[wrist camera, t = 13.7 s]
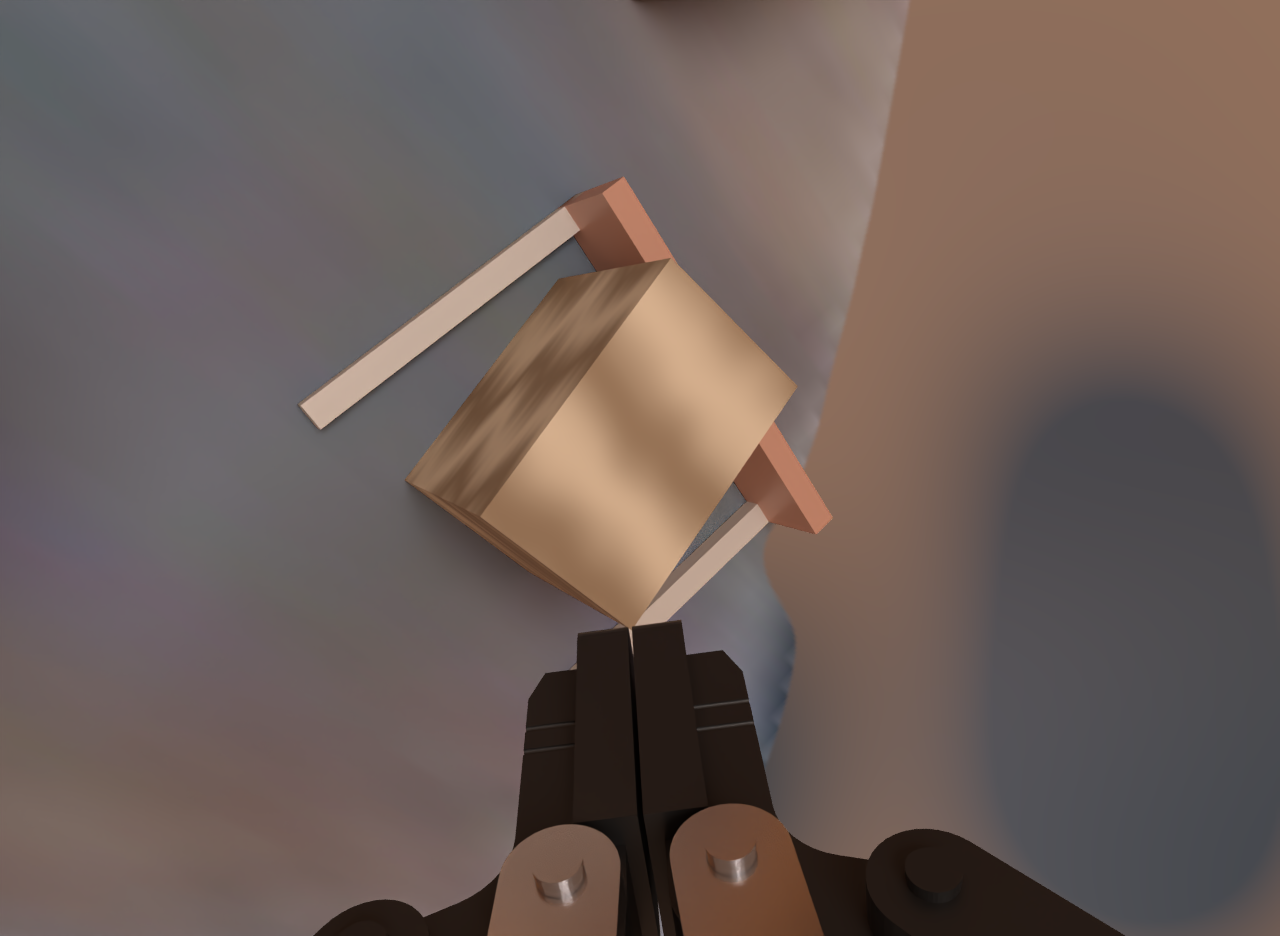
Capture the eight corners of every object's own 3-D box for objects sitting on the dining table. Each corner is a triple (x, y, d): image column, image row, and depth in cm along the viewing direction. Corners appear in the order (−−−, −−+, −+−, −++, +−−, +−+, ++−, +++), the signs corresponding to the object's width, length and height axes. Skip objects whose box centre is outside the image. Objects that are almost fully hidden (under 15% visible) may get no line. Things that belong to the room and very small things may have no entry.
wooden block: (529, 572, 54) (631, 630, 43) (404, 479, 50) (479, 516, 39) (666, 380, 57) (797, 386, 45) (558, 278, 53) (671, 258, 42)
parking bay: (556, 713, 56) (599, 750, 51) (297, 404, 47) (315, 410, 42) (773, 503, 61) (832, 517, 56) (576, 194, 53) (623, 176, 48)
